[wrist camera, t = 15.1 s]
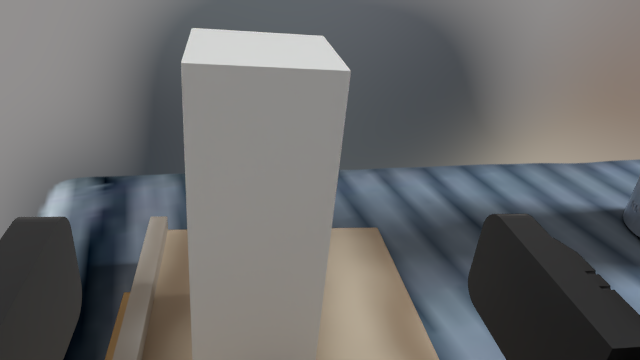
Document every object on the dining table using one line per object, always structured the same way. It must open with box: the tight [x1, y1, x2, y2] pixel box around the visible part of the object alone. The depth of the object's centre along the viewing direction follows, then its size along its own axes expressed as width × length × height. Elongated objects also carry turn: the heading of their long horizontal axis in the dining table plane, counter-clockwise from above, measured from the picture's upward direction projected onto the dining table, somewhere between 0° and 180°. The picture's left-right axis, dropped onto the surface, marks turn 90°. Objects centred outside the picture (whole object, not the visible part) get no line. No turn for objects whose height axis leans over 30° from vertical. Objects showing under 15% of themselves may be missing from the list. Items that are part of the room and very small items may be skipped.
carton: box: [181, 28, 351, 360], centre depth 22 cm, size 6×6×14 cm
